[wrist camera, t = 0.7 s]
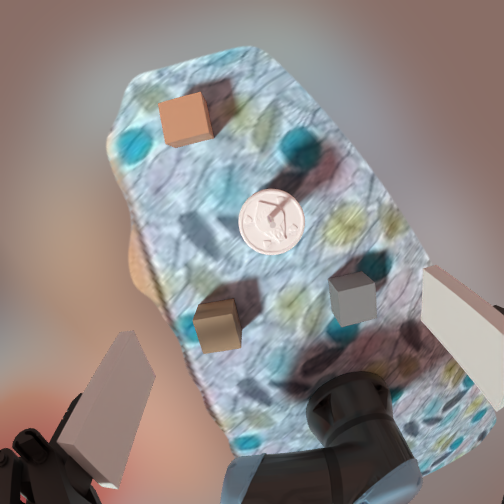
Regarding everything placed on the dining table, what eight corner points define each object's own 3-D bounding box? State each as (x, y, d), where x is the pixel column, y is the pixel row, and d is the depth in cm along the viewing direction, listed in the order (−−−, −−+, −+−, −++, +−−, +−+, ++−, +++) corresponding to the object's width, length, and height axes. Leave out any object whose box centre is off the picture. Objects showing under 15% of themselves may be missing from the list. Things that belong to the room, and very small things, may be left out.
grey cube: (364, 303, 41) (376, 317, 36) (331, 311, 41) (341, 327, 36) (361, 270, 40) (375, 282, 35) (327, 278, 40) (337, 291, 35)
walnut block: (241, 329, 42) (241, 348, 37) (207, 335, 42) (203, 353, 37) (234, 297, 41) (232, 313, 36) (198, 304, 41) (192, 320, 36)
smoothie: (274, 176, 37) (290, 175, 23) (300, 220, 38) (329, 243, 24) (231, 203, 37) (220, 218, 24) (258, 246, 39) (263, 283, 25)
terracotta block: (214, 138, 36) (209, 132, 31) (175, 148, 36) (165, 143, 31) (206, 102, 34) (200, 91, 29) (168, 112, 34) (158, 103, 30)
